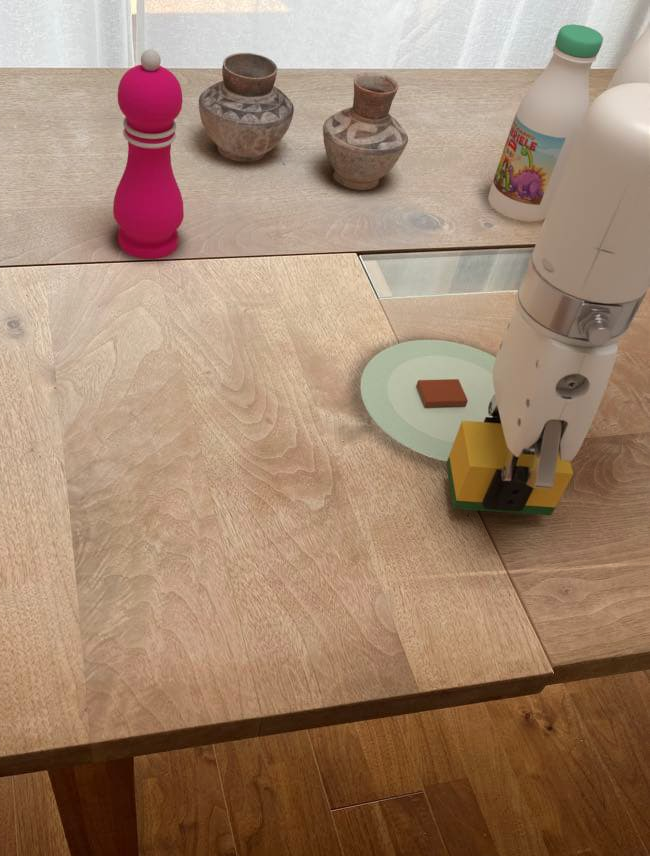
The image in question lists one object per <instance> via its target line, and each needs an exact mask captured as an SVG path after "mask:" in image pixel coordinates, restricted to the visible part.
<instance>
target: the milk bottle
mask: <svg viewBox="0 0 650 856" xmlns="http://www.w3.org/2000/svg"><path fill="white" fill-rule="evenodd" d="M603 42H604V37H603V35H602V34H601V33H600V32H599V31H598V30H596V29H593V28H592V27H589V26H586V25H581V24H565V25H563V26H561V27H560V29H559V30H558V33H557V36H556V38H555V42H554V46H553V47H552V52H553V54H552V57H551V58H550V60H549V62H548V63H547V65H546V67H545V69H544V70H543V71H542V73H540V75H539V76H538V77H537V78H536V79H535V80H534V82H533V83H532V84H531V85H530V86H529V87H528V89H527V91H526V92H525V94H524V95H523V97H522V99H521V101H520V103H519V106H518V107H517V110H516V113H515V116H514V117H513V122H512V123H511V127H510V128H509V132H508V135H507V139H506V141H505V144H504V147H503V150H502V153H501V155H500V159H499V162H498V165H497V168H496V171H495V174H494V176H493V181H492V183H491V186H490V189H489V192H488V196H487V201H488V203H489V205H490V206H491V207H492V208H493V209H494V210H495V212H498V213H499V214H501V215H503V216H505V217H507V218H510V219H513V220H517V221H521V222H540V221H543V220H545V218H546V215H547V213H548V210H549V207H550V205H551V202H552V199H553V197H554V194H555V191H556V189H557V186H558V183H559V181H560V178H561V175H562V173H563V170H564V167H565V165H566V162H567V159H568V157H569V154H570V151H571V149H572V146H573V144H574V141H575V138H576V136H577V133H578V130H579V128H580V125H581V123H582V120H583V118H584V116H585V114H586V111H587V110H588V108H589V107H590V89H589V87H590V86H589V84H590V82H589V81H590V73H591V67H592V64H593V63H594V62H595V61H596V60H597V57H598V54H599V52H600V51H601V48H602V45H603Z"/></svg>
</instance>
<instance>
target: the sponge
mask: <svg viewBox="0 0 650 856" xmlns="http://www.w3.org/2000/svg"><path fill="white" fill-rule="evenodd" d="M507 450H508V447H507V444H506V441H505V437H504V432H503V428H502V424H501V423H487V422H474V421H462V422H461V424H460V427H459V430H458V433H457V435H456V438H455V441H454V444H453V447H452V449H451V452H450V455H449V458H448V460H447V461H446V470H447V471H446V472H447V478H448V483H449V489H450V490H449V491H450V494H451V495H450V497H451V502H452V503H451V504H452V508H453V510H463V511H464V510H465V511H479V512H480V511H481V512H493V513H495V512H496V513H509V514H523V515H537V516H538V515H539V516H552V514H553V512H554V511H555V509H556V507H557V505H558V504H559V501H560V500H561V498H562V496H563V494H564V492H565V490H566V489H567V486H568V485H569V483H570V481H571V479H572V477H573V475H574V471H573V468H572V464H571V461H565V460H560V456H559V453H558V456H557V463H556V469H555V475H554V482H553V486H552V488H551V489H539V488H534V489H533V491H532V493H531V495H530V497H529V499H528V501H527V503H526V505H525V507H524V509H523V510H521V511H505V510H492V509H485V508H484V506H483V499H484V497H485V495H486V492H487V490H488V488H489V485H490V483H491V481H492V479H493V476H494V474H495V472H496V469H497V470H502V467H503V464H504V461H505V457H506V454H507ZM533 461H534V455H530V454H520V456H519V457H518V461H517V464H516V466H525V467H532V465H533Z"/></svg>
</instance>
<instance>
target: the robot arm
mask: <svg viewBox="0 0 650 856" xmlns="http://www.w3.org/2000/svg"><path fill="white" fill-rule="evenodd" d="M649 288H650V24H649V25H648V26H647V27H646V29H645V30H644V31H643V32H642V33H641V35H640V36H639V37H638V38H637V40H636V41H634V43H633V45H632V46H631V48H630V49H629V50H628V51H627V54H626V55H625V56H624V58H623V59H622V60H621V62H620V64H619V65H618V67H617V68H616V70H615V73H614V74H613V76H612V78H611V80H610V82H609V84H608V86H607V89H606V90H605V91H603V92H602V93H601V94H599V95H598V96H597V97H596V98H595V99H594V100H593V101H592V102H591V104H590V105H589V108H588V110H587V111H586V114H585V116H584V118H583V120H582V123H581V125H580V128H579V130H578V133H577V136H576V138H575V141H574V144H573V146H572V149H571V151H570V154H569V157H568V159H567V162H566V165H565V167H564V170H563V173H562V175H561V178H560V181H559V183H558V186H557V189H556V191H555V194H554V197H553V199H552V202H551V205H550V207H549V210H548V213H547V215H546V218H545V219H544V221H543V224H542V226H541V229H540V232H539V234H538V238H537V239H536V243H535V245H534V247H533V250H532V253H531V255H530V259H529V261H528V264H527V267H526V269H525V271H524V274H523V277H522V280H521V282H520V285H519V287H518V290H517V292H516V295H515V306H516V307H515V310H514V312H513V314H512V316H511V318H510V320H509V323H508V325H507V327H506V330H505V332H504V334H503V337H502V339H501V341H500V345H499V347H498V349H497V353H496V355H495V357H496V359H495V362H494V366H493V385H494V391H495V394H494V396H493V397H492V399H491V401H490V403H489V406H488V415H489V416H492V417H486V418H485V420H484V422H487V423H501V424H502V428H503V432H504V437H505V441H506V444H507V447H508V450H507V454H506V457H505V461H504V464H503V467H502V470H497V469H496V472H495V474H494V476H493V479H492V481H491V483H490V485H489V488H488V490H487V492H486V495H485V497H484V499H483V506H484V508H485V509H492V510H505V511H521V510H523V509H524V507H525V505H526V503H527V501H528V499H529V497H530V495H531V493H532V491H533V489H534V488H539V489H551V488H552V486H553V482H554V475H555V469H556V463H557V456H558V453H559V456H560V460H565V461H570V462H571V461H572V460H574V458H575V457H576V456H577V455H578V453H579V451H580V449H581V447H582V445H583V443H584V441H585V439H586V437H587V435H588V433H589V430H590V428H591V426H592V423H593V422H594V419H595V417H596V414H597V412H598V410H599V407H600V405H601V404H602V403H601V402H602V401H603V398H604V395H605V392H606V390H607V387H608V385H609V382H610V379H611V376H612V373H613V369H614V366H615V362H616V359H617V355H618V351H619V344H618V343H619V342H618V341H620V340H622V338H623V337H625V336H626V334H627V332H628V330H629V328H630V326H631V324H632V322H633V320H634V318H635V316H636V315H637V313H638V310H639V308H640V306H641V304H642V303H643V302H644V301H643V300H644V298H645V297H646V295H647V293H648V290H649ZM520 454H530V455H534V461H533V465H532V467H525V466H516V464H517V461H518V457H519V456H520Z"/></svg>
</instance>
